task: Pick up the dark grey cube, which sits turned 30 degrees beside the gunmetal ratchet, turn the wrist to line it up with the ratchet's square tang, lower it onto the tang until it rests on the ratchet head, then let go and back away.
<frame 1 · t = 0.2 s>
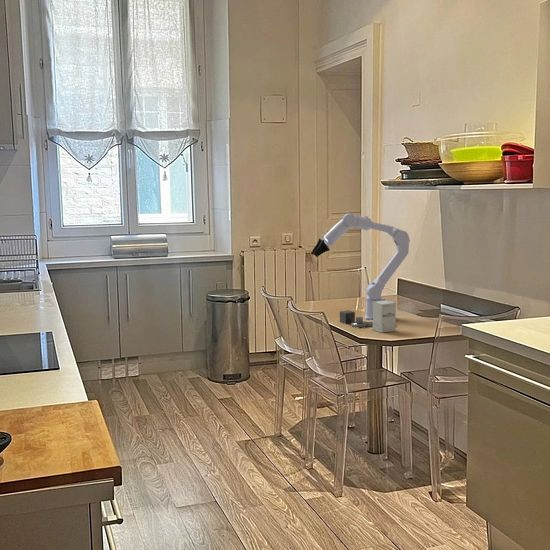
hand: (314, 254, 329), 31 cm above the table, tool tilted 45°, fingers open, 7 cm apart
supplement box: (384, 331, 305), on the table
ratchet: (359, 326, 316), on the table
dark grey cube: (347, 322, 324), on the table
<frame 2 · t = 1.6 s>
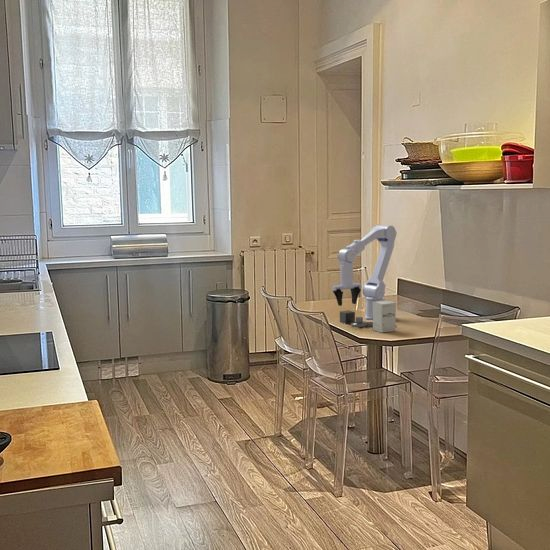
hand: (347, 304, 323), 8 cm above the table, tool pointing down, fingers open, 7 cm apart
nothing on the table moved.
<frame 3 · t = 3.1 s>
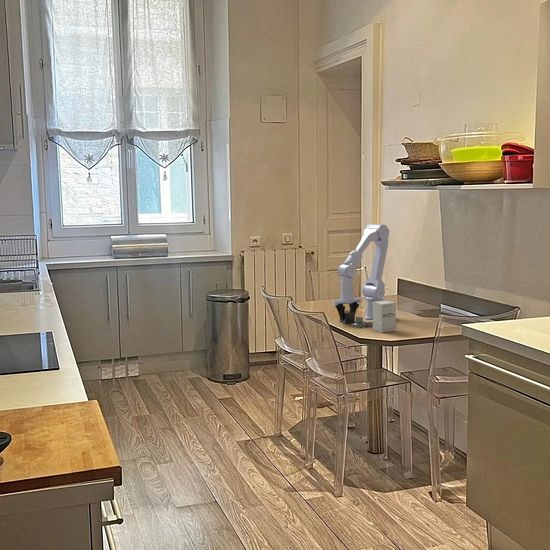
hand: (347, 319, 324), 1 cm above the table, tool pointing down, fingers closed on dark grey cube, 5 cm apart
dark grey cube: (347, 322, 324), on the table, touching gripper
everything else where it was.
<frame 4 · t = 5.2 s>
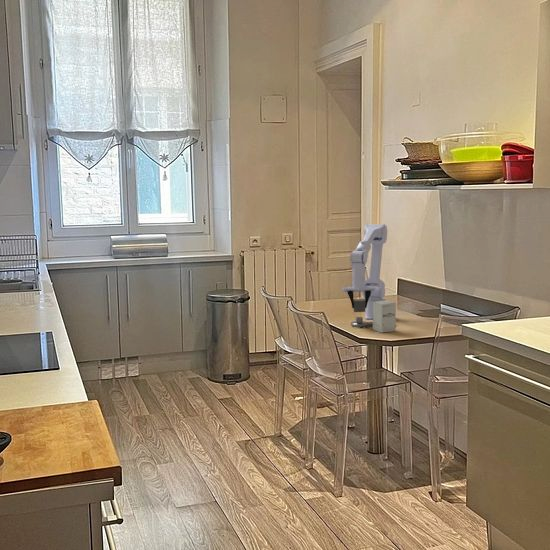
hand: (359, 307, 314), 8 cm above the table, tool pointing down, fingers closed on dark grey cube, 5 cm apart
dark grey cube: (359, 311, 315), point 7 cm above the table, touching gripper
everything else where it was.
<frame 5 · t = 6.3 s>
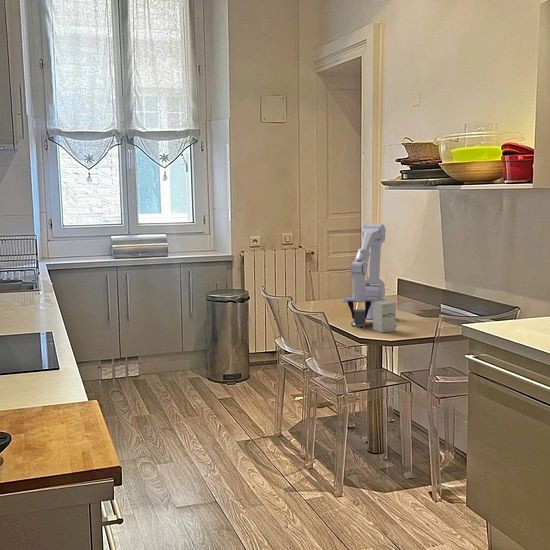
hand: (359, 318, 315), 4 cm above the table, tool pointing down, fingers closed on dark grey cube, 5 cm apart
dark grey cube: (359, 321, 315), point 2 cm above the table, touching gripper
everything else where it was.
when the fingers open (4 cm above the table, at t = 7.1 s): dark grey cube stays where it is, resting on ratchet.
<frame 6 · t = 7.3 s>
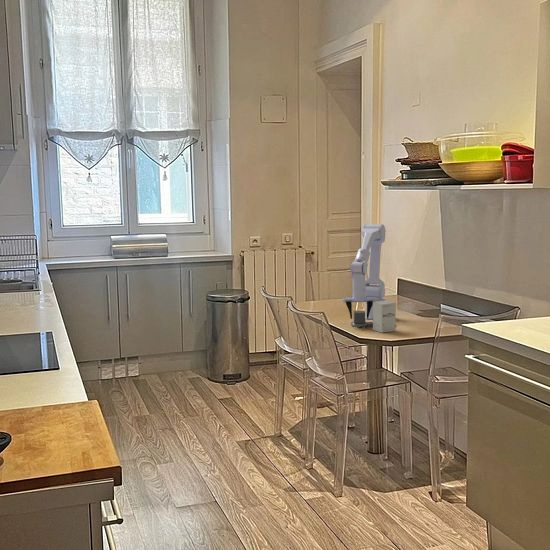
hand: (359, 318, 315), 4 cm above the table, tool pointing down, fingers open, 7 cm apart
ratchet: (359, 326, 316), on the table, touching dark grey cube
dark grey cube: (359, 322, 315), point 1 cm above the table, touching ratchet
everything else where it was.
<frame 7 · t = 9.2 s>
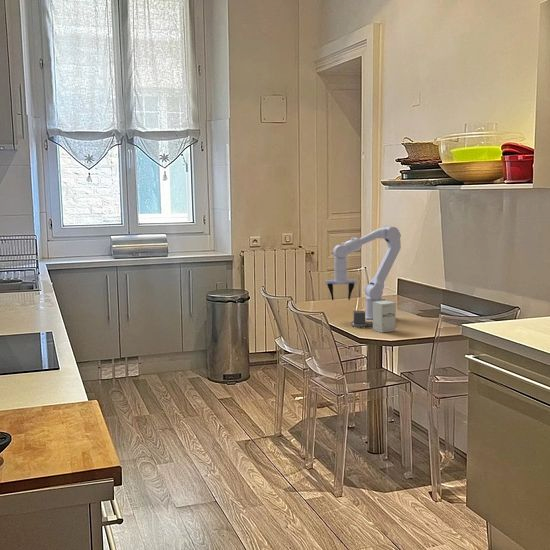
hand: (340, 299, 329), 9 cm above the table, tool pointing down, fingers open, 7 cm apart
nothing on the table moved.
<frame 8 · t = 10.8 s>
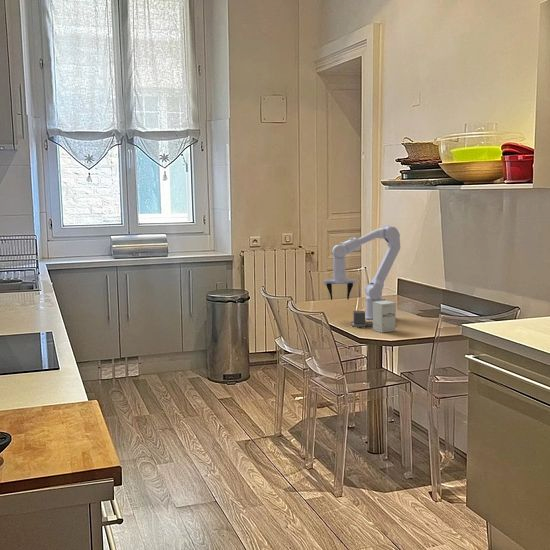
hand: (339, 299, 330), 9 cm above the table, tool pointing down, fingers open, 7 cm apart
nothing on the table moved.
at the end: dark grey cube 0.1 cm from the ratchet (horizontally); dark grey cube point 1.4 cm above the table; dark grey cube tilted 0° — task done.
